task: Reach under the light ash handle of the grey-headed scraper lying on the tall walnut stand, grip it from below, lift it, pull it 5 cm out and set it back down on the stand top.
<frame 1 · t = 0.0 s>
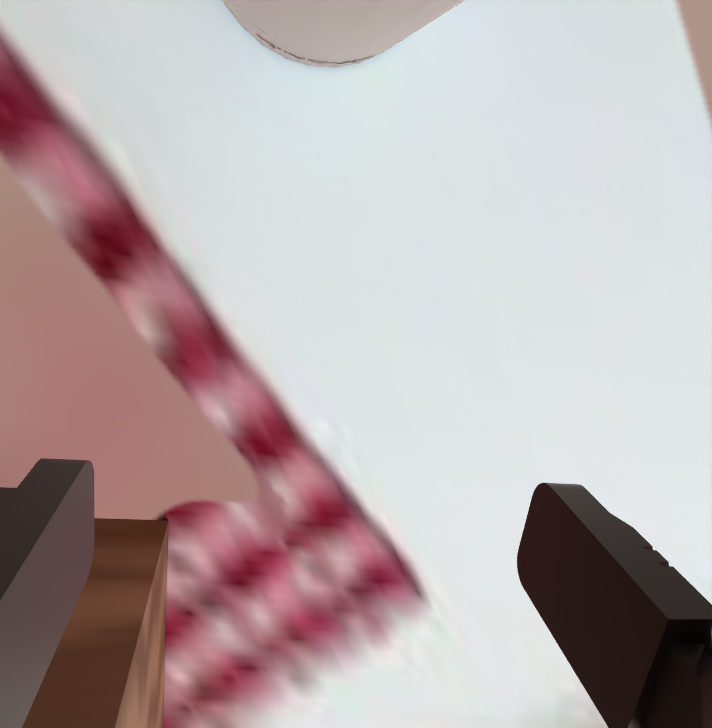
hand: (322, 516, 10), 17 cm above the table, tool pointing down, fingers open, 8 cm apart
stand: (26, 647, 32), on the table
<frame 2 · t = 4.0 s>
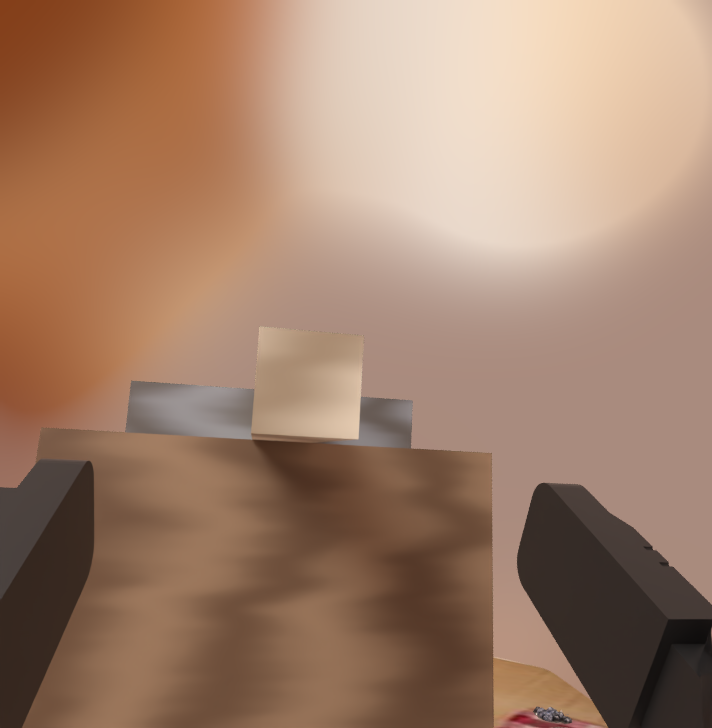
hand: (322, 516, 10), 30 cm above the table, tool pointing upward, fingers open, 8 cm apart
blueberries: (554, 721, 80), on the table
scraper: (271, 452, 35), point 32 cm above the table, touching stand
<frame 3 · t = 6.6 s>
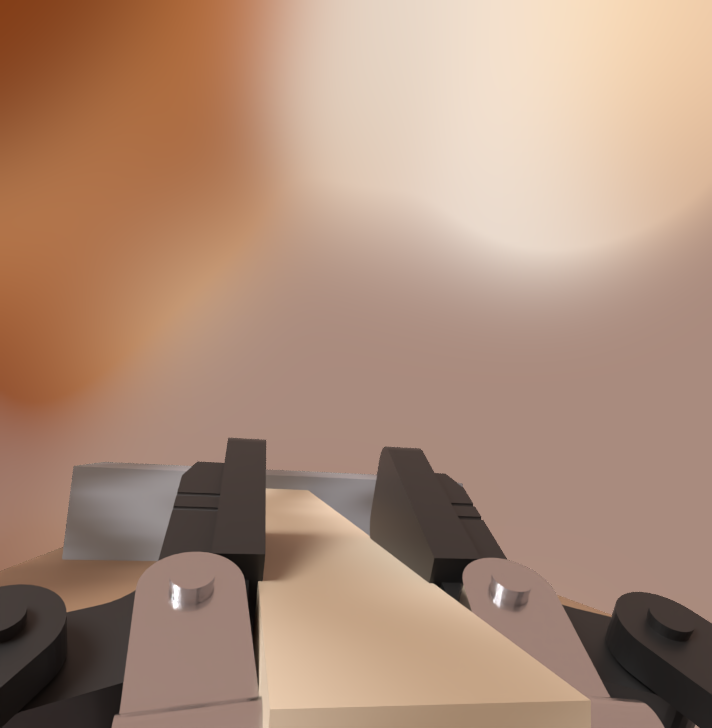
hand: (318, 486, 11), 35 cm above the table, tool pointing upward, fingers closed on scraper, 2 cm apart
scraper: (270, 551, 26), point 32 cm above the table, touching gripper, stand
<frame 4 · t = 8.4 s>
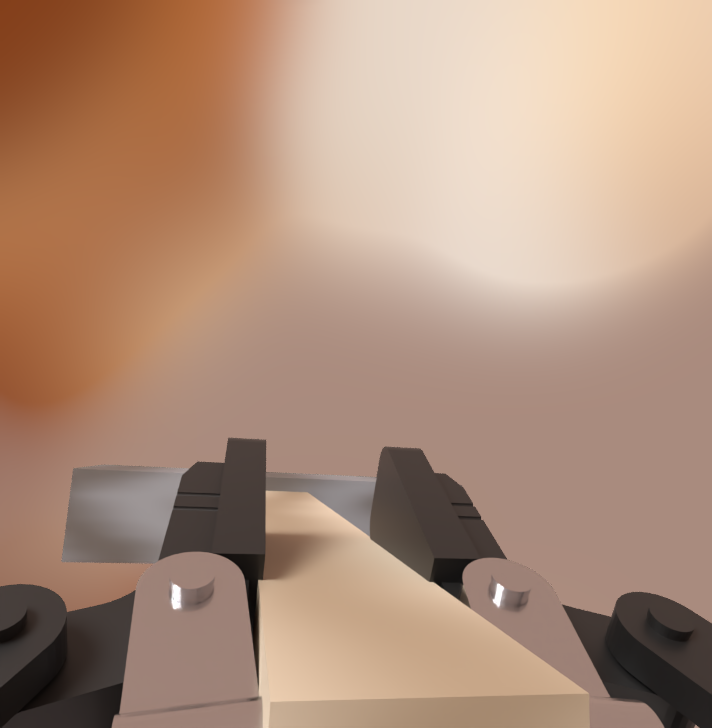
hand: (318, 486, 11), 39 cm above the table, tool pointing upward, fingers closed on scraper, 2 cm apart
scraper: (270, 554, 26), point 36 cm above the table, touching gripper
when the fingers open (36 cm above the table, at t = 10.3 s): scraper stays where it is, resting on stand.
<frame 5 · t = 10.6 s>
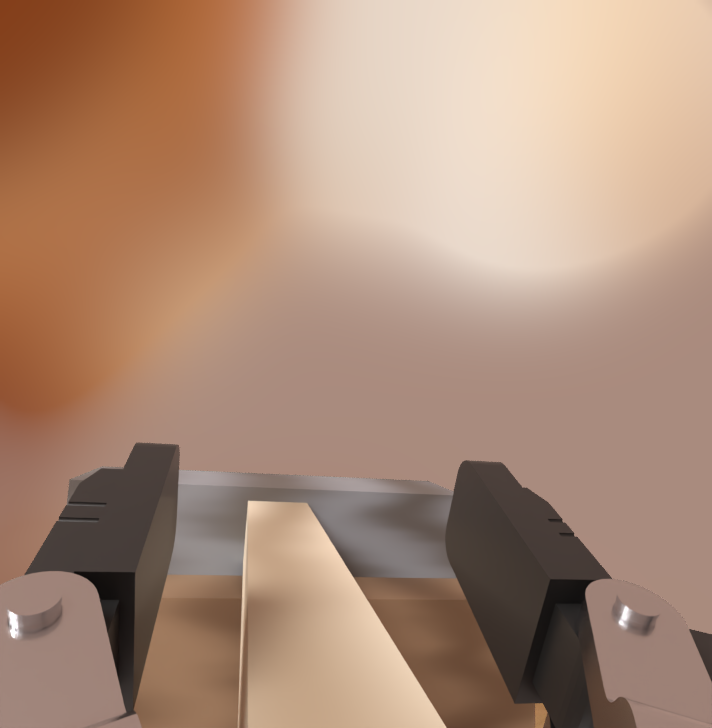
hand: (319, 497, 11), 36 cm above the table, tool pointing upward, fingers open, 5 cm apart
scraper: (269, 559, 25), point 32 cm above the table, tilted 7°, touching stand
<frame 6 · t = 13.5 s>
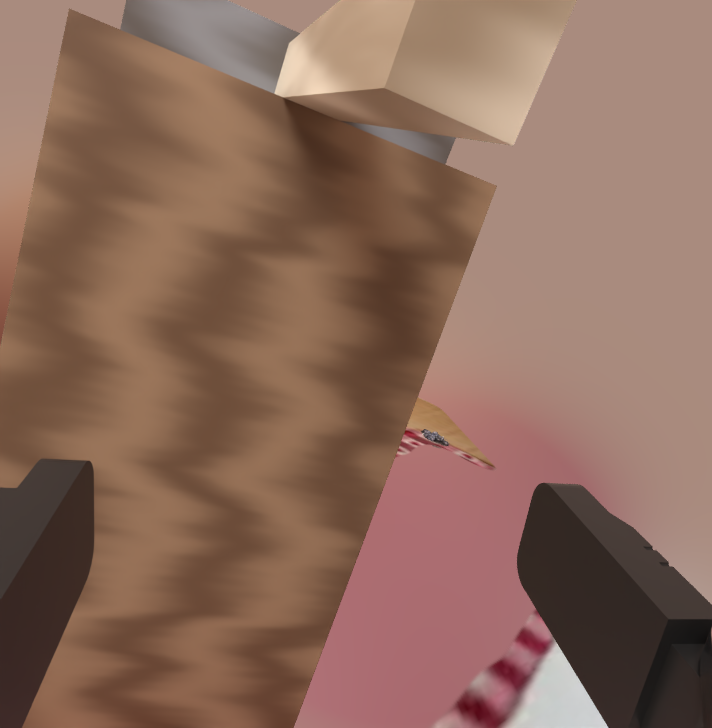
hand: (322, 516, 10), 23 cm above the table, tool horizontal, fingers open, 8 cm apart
stand: (137, 630, 36), on the table
blueberries: (435, 442, 98), on the table
scraper: (288, 118, 29), point 32 cm above the table, tilted 7°, touching stand
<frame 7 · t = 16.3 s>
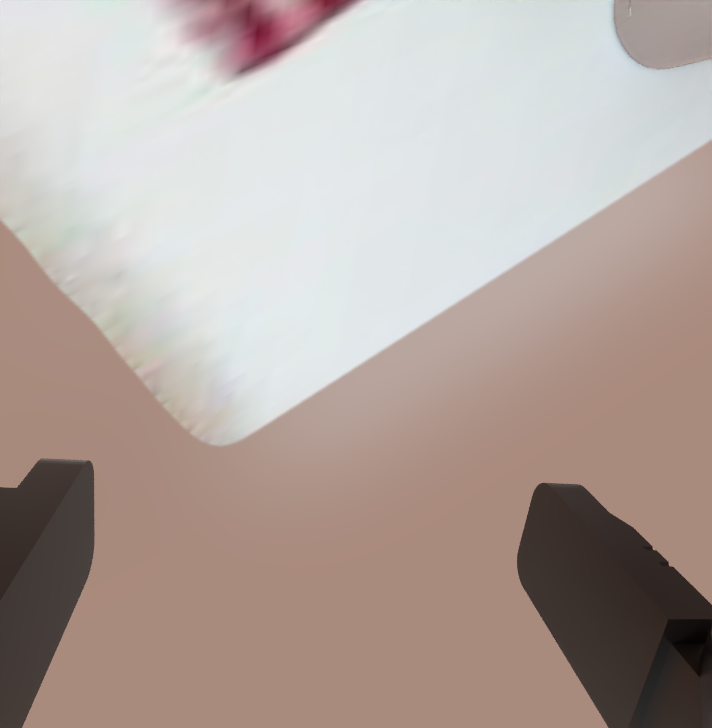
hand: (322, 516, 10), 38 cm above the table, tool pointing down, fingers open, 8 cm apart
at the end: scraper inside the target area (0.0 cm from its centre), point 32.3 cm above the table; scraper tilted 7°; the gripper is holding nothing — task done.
